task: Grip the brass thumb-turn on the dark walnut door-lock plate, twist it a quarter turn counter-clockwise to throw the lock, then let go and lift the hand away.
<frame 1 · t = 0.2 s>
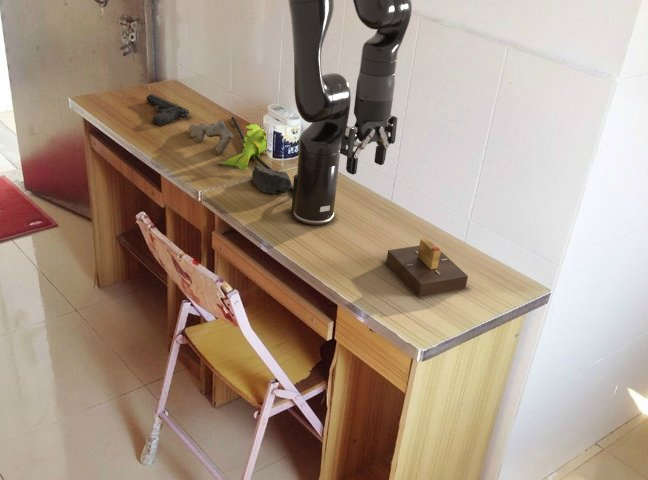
hand: (365, 168, 164), 17 cm above the table, tool pointing down, fingers open, 8 cm apart
rock: (270, 187, 194), on the table
rock 2: (206, 143, 216), on the table
handgun: (157, 113, 234), on the table
toy: (253, 159, 209), on the table
thumbturn: (429, 253, 160), point 5 cm above the table, hinge at 0.0°
lock plate: (424, 275, 162), on the table
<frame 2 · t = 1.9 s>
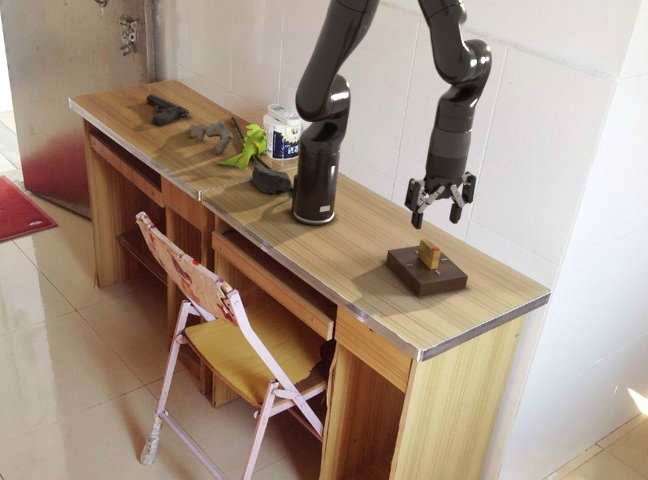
hand: (434, 224, 156), 12 cm above the table, tool pointing down, fingers open, 8 cm apart
nothing on the table moved.
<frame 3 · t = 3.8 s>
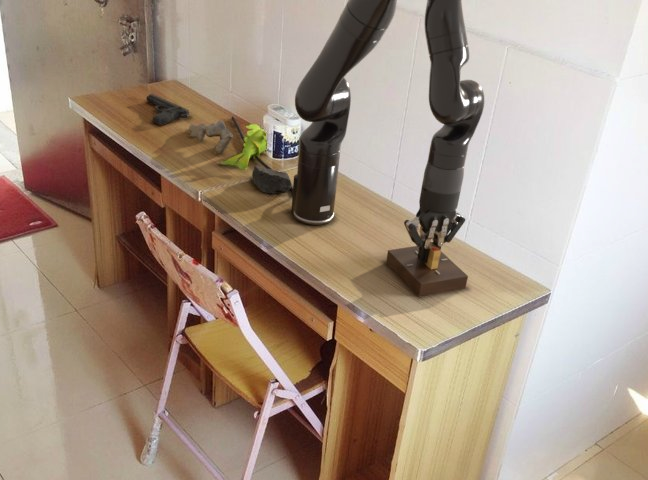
hand: (427, 260, 161), 4 cm above the table, tool pointing down, fingers closed on thumbturn
thumbturn: (429, 253, 160), point 5 cm above the table, hinge at 0.0°, touching gripper
everything else where it was.
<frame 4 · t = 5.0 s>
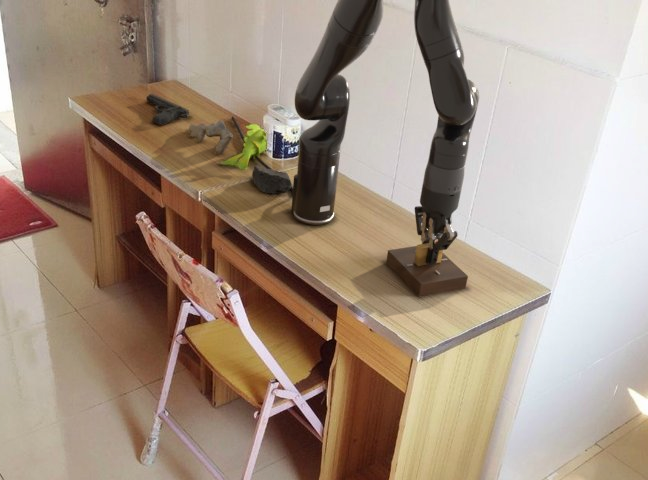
hand: (428, 260, 161), 4 cm above the table, tool pointing down, fingers closed on thumbturn, 2 cm apart
thumbturn: (429, 253, 160), point 5 cm above the table, hinge at 89.4°, touching gripper
everything else where it was.
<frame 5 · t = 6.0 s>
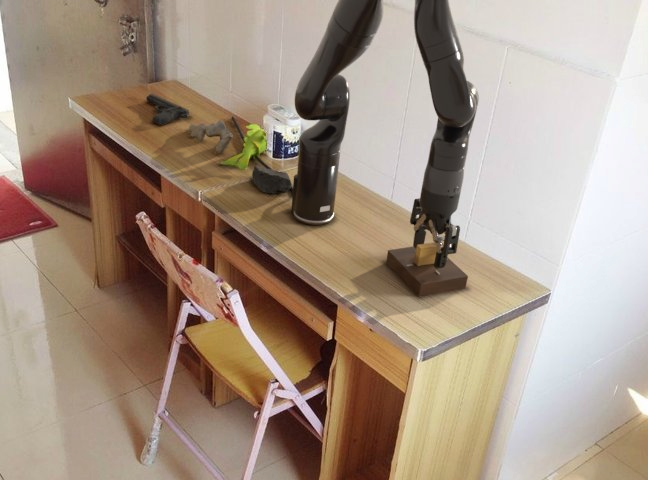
hand: (428, 257, 160), 4 cm above the table, tool pointing down, fingers open, 8 cm apart
thumbturn: (429, 253, 160), point 5 cm above the table, hinge at 89.4°
everything else where it was.
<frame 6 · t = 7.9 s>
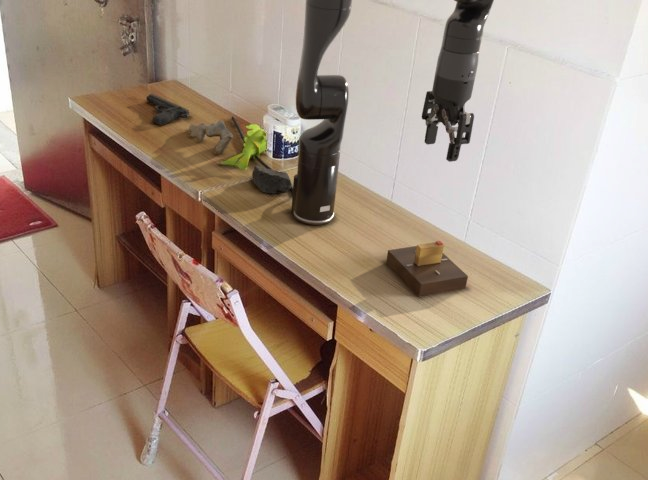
hand: (440, 152, 156), 24 cm above the table, tool pointing down, fingers open, 8 cm apart
nothing on the table moved.
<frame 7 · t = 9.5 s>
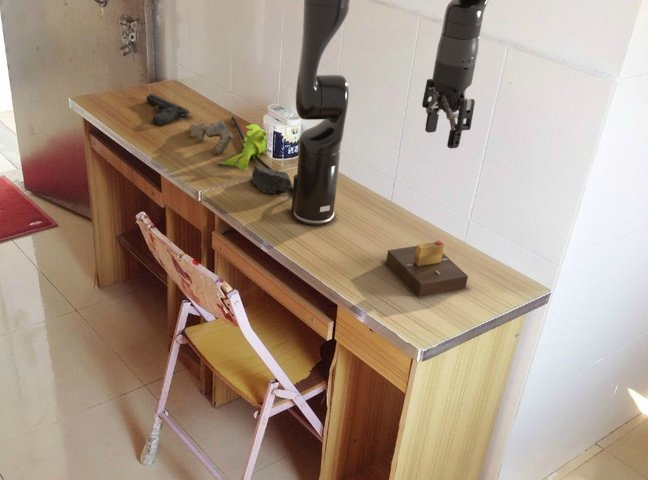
hand: (441, 139, 156), 26 cm above the table, tool pointing down, fingers open, 8 cm apart
nothing on the table moved.
at the end: thumbturn at +89° (first picture: +0°) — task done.
